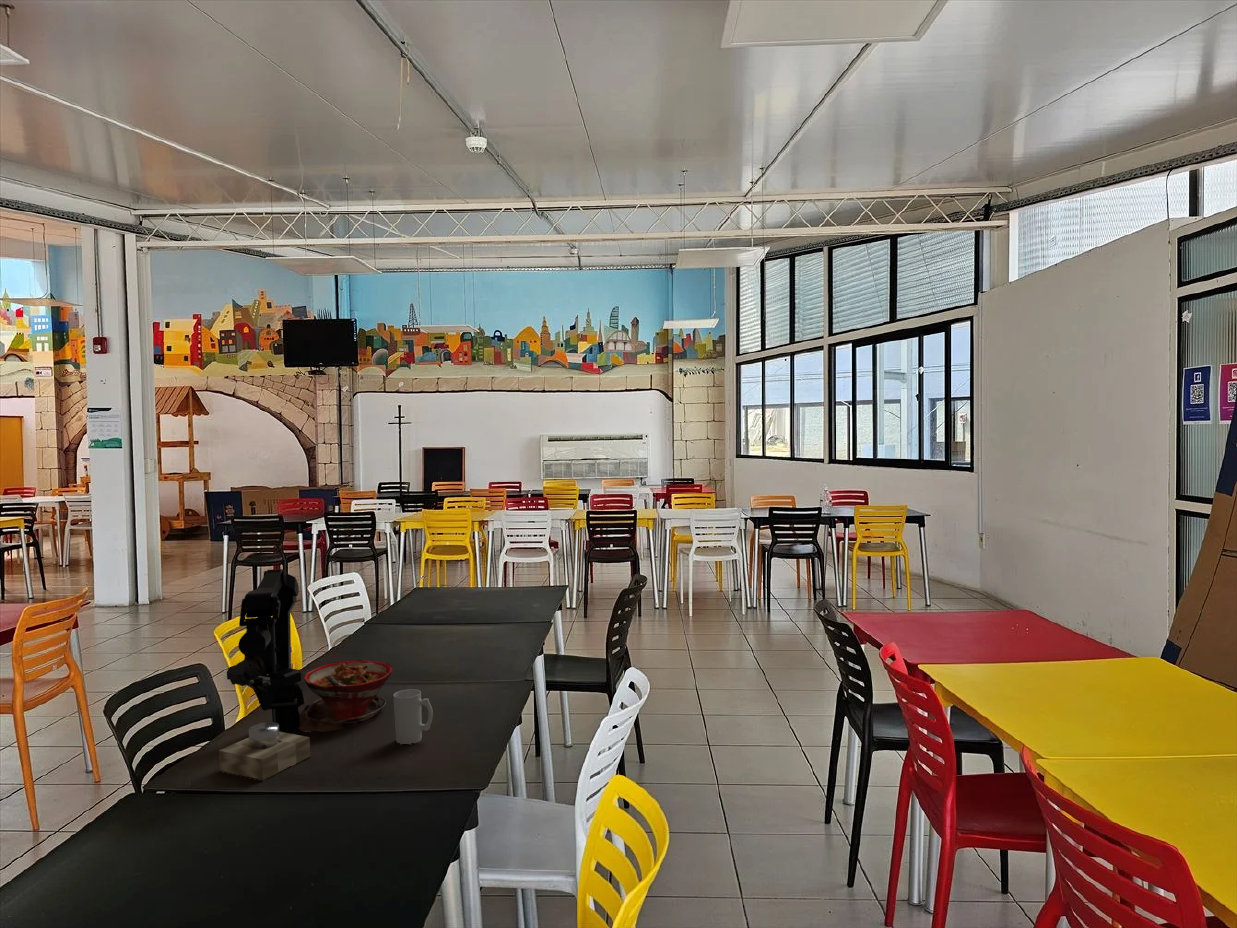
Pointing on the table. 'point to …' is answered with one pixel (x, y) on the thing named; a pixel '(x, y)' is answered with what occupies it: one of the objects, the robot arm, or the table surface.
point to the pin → (264, 735)
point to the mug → (410, 716)
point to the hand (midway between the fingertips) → (265, 709)
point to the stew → (344, 694)
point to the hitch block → (264, 756)
